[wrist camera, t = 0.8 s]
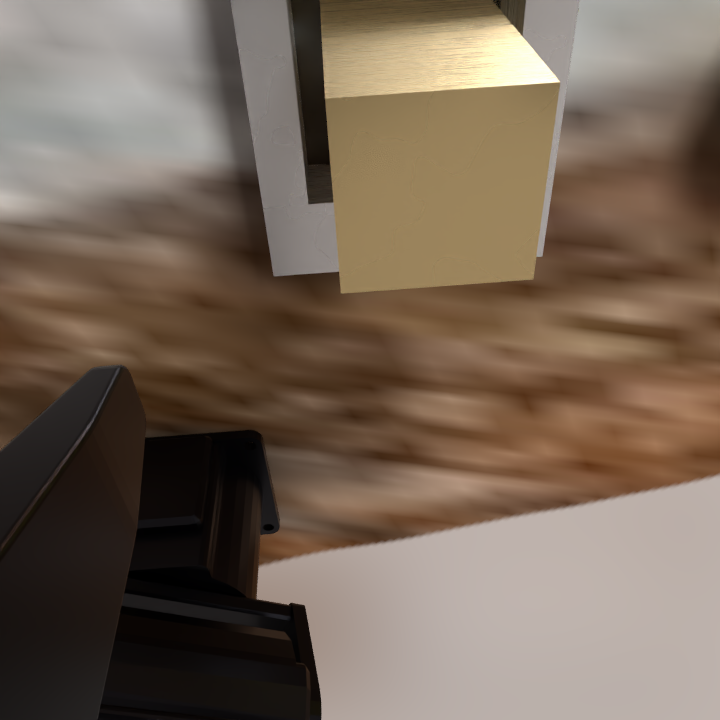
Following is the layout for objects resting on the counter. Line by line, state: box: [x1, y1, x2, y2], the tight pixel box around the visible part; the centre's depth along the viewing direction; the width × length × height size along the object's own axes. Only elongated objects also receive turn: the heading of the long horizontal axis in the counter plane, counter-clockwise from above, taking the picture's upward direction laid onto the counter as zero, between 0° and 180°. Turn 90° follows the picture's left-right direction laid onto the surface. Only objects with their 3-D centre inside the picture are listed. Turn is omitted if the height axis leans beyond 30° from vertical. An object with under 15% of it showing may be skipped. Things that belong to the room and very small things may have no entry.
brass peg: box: [320, 0, 560, 294], centre depth 16 cm, size 4×4×8 cm
